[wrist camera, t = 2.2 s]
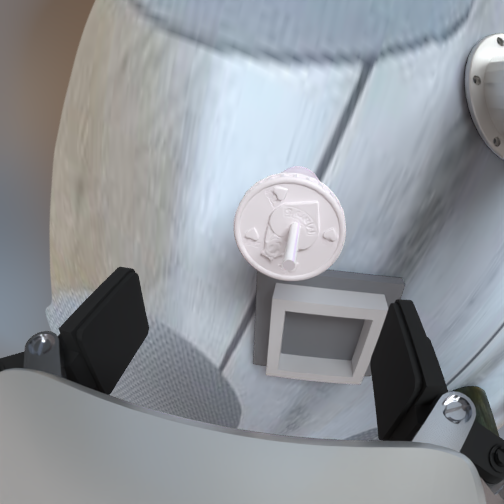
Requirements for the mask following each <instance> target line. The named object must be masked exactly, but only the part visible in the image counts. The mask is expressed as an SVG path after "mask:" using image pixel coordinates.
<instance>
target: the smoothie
mask: <svg viewBox="0 0 504 504" xmlns="http://www.w3.org/2000/svg"><path fill="white" fill-rule="evenodd" d="M234 236H235V240H236V243H237V246H238V248H239V250H240V252H241V254H242V255H243V257H244V258H245V259H246V260H247V262H248V263H249V264H250V265H251V266H253V267H254V268H255V269H256V270H258V271H259V272H261V273H263V274H265V275H267V276H269V277H272V278H275V279H278V280H284V281H300V280H305V279H309V278H312V277H315V276H317V275H319V274H321V273H322V272H324V271H325V270H327V269H328V268H329V267H330V266H331V265H332V264H333V263H334V262H335V261H336V260H337V258H338V257H339V255H340V253H341V251H342V249H343V246H344V243H345V238H346V222H345V216H344V210H343V208H342V206H341V204H340V202H339V200H338V198H337V197H336V196H335V194H334V193H333V192H332V191H331V190H330V189H329V188H328V187H327V186H326V185H324V184H323V183H321V182H320V181H319V179H318V178H317V176H316V175H315V174H314V173H313V172H312V171H311V170H309V169H308V168H305V167H301V166H294V167H290V168H288V169H286V170H285V171H283V172H281V173H279V174H274V175H270V176H268V177H266V178H264V179H262V180H260V181H258V182H256V183H255V184H254V185H253V186H252V187H251V188H250V189H249V190H248V191H247V192H246V193H245V195H244V197H243V198H242V200H241V202H240V203H239V206H238V208H237V211H236V214H235V218H234Z"/></svg>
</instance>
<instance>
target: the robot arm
mask: <svg viewBox="0 0 504 504" xmlns="http://www.w3.org/2000/svg"><path fill="white" fill-rule="evenodd" d="M473 79H474V82H473ZM465 91H466V98H467V103H468V108H469V111H470V114H471V117H472V120H473V122H474V124H475V126H476V128H477V130H478V133H479V134H480V136H481V137H482V139H483V140H484V142H485V144H486V145H487V146H488V147H489V148H490V149H491V150H492V151H493V153H495V154H496V155H497V156H498V157H500V158H501V159H502V160H504V33H498V34H492V35H489V36H486V37H484V38H483V39H481V40H480V41H478V43H477V44H476V45H475V46H474V47H473V49H472V51H471V53H470V55H469V57H468V61H467V65H466V70H465ZM493 140H494V141H493ZM59 331H60V335H59V336H57V335H56V334H55V333H53V332H51V331H43V332H39V333H37V334H35V335H33V336H32V337H31V338H30V339H29V340H28V341H27V343H26V345H25V351H24V352H22V353H18V354H15V355H11V356H7V357H4V358H0V504H504V440H503V439H502V438H500V437H499V436H497V435H496V434H494V433H493V432H491V431H490V430H488V429H487V428H485V427H484V426H482V425H481V424H479V423H478V422H476V421H475V417H476V408H475V406H474V403H473V402H472V401H471V399H470V398H469V397H467V396H466V395H465V394H462V393H460V392H455V391H452V392H448V390H447V387H446V384H445V380H444V377H443V374H442V371H441V368H440V366H439V363H438V360H437V357H436V354H435V352H434V349H433V346H432V343H431V341H430V339H429V338H428V337H427V336H426V334H425V331H424V329H423V326H422V323H421V321H420V318H419V316H418V313H417V311H416V309H415V306H414V304H413V302H412V301H411V300H401V299H397V300H396V301H395V303H391V304H390V306H389V308H388V311H387V314H386V317H385V320H384V323H383V326H382V329H381V332H380V335H379V337H378V340H377V343H376V346H375V348H374V351H373V353H372V356H371V361H370V367H371V374H372V381H373V389H374V397H375V406H376V415H377V426H378V436H379V439H380V440H383V441H359V440H335V439H317V438H304V437H293V436H284V435H275V434H268V433H261V432H254V431H247V430H241V429H235V428H230V427H225V426H219V425H214V424H210V423H205V422H200V421H196V420H192V419H187V418H183V417H179V416H175V415H172V414H168V413H164V412H161V411H157V410H153V409H150V408H147V407H143V406H140V405H137V404H134V403H130V402H127V401H124V400H121V399H118V398H116V397H113V396H110V395H109V394H110V393H111V392H112V390H113V389H114V387H115V386H116V384H117V382H118V381H119V379H120V378H121V376H122V374H123V373H124V371H125V369H126V368H127V366H128V365H129V363H130V362H131V360H132V358H133V357H134V355H135V354H136V352H137V350H138V349H139V347H140V346H141V344H142V343H143V341H144V340H145V338H146V336H147V335H148V331H149V325H148V321H147V316H146V312H145V307H144V302H143V297H142V292H141V286H140V281H139V276H138V274H137V273H135V271H134V269H131V268H124V267H119V268H117V269H116V270H115V271H114V272H113V273H112V274H111V275H110V276H109V277H108V278H107V279H106V280H105V281H104V282H103V283H102V284H101V285H100V286H99V287H98V288H97V289H96V290H95V291H94V292H93V293H92V294H91V295H90V296H89V297H88V298H87V299H86V300H85V301H84V302H83V303H82V304H81V306H80V307H79V308H78V309H77V310H76V311H75V312H74V313H73V314H72V315H71V316H70V317H69V318H68V319H67V320H66V321H65V322H64V324H63V325H62V326H61V327H60V328H59Z"/></svg>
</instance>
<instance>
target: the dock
mask: <svg viewBox="0 0 504 504" xmlns="http://www.w3.org/2000/svg"><path fill="white" fill-rule="evenodd" d="M404 287H405V283H404V281H403V278H398V277H389V276H379V275H370V274H361V273H352V272H343V271H334V270H325V271H324V272H322V273H321V274H319V275H317V276H315V277H312V278H309V279H305V280H300V281H284V280H278V279H275V278H272V277H269V276H267V275H265V274H263V273H261V272H259V271H258V270H257V290H256V314H255V337H254V359H253V364H256V365H263V366H267V368H266V375H268V376H275V377H282V378H290V379H299V380H308V381H317V382H328V383H341V384H356V385H360V384H361V382H362V379H363V377H364V376H371V367H370V361H371V356H372V353H373V351H374V348H375V346H376V343H377V340H378V337H379V335H380V332H381V329H382V326H383V323H384V320H385V317H386V314H387V311H388V308H389V306H390V304H391V303H395V301H396V300H397V299H401V296H402V293H403V290H404Z"/></svg>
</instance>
